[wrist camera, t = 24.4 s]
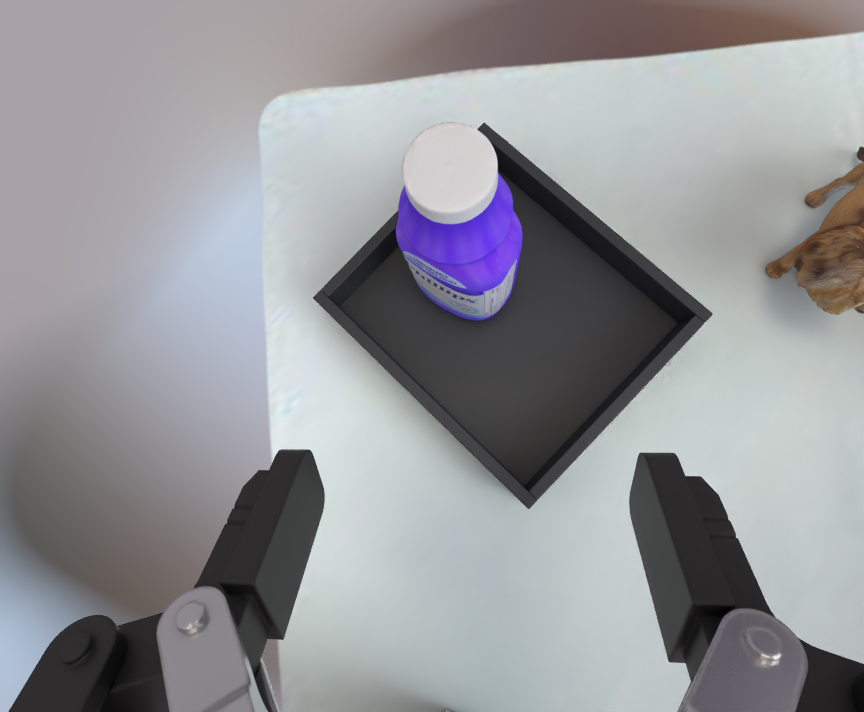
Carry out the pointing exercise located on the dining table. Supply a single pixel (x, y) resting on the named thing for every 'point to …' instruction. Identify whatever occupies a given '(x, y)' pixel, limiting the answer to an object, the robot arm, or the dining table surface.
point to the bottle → (458, 221)
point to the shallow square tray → (523, 333)
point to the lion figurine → (832, 249)
